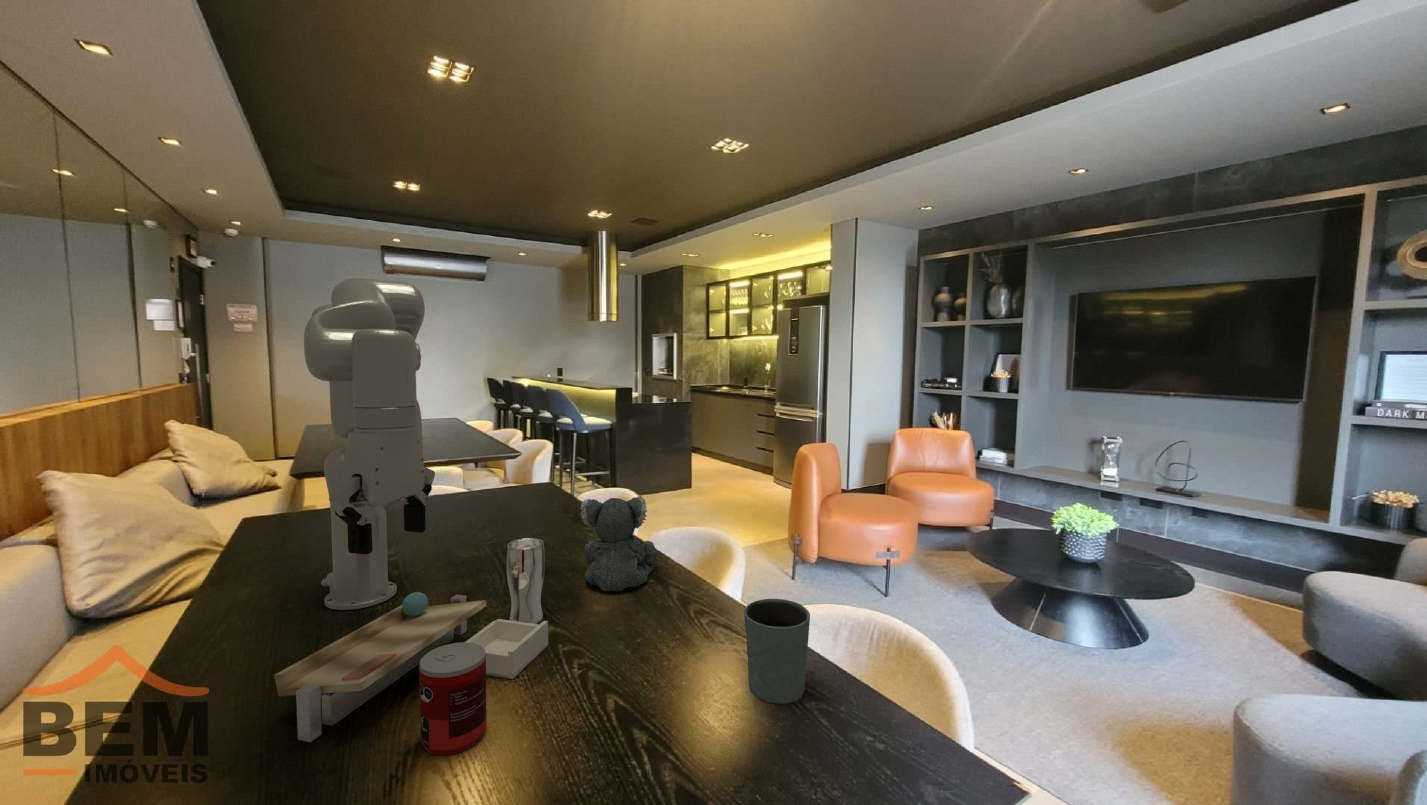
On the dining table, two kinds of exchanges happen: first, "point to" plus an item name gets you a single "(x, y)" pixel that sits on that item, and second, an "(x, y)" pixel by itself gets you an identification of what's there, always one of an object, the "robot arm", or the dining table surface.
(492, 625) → the white open box
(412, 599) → the ball
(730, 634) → the dining table surface
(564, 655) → the dining table surface
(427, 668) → the canned food
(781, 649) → the dark green cup
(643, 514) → the koala plush
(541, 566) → the beer glass
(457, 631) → the lever stand
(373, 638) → the lever
